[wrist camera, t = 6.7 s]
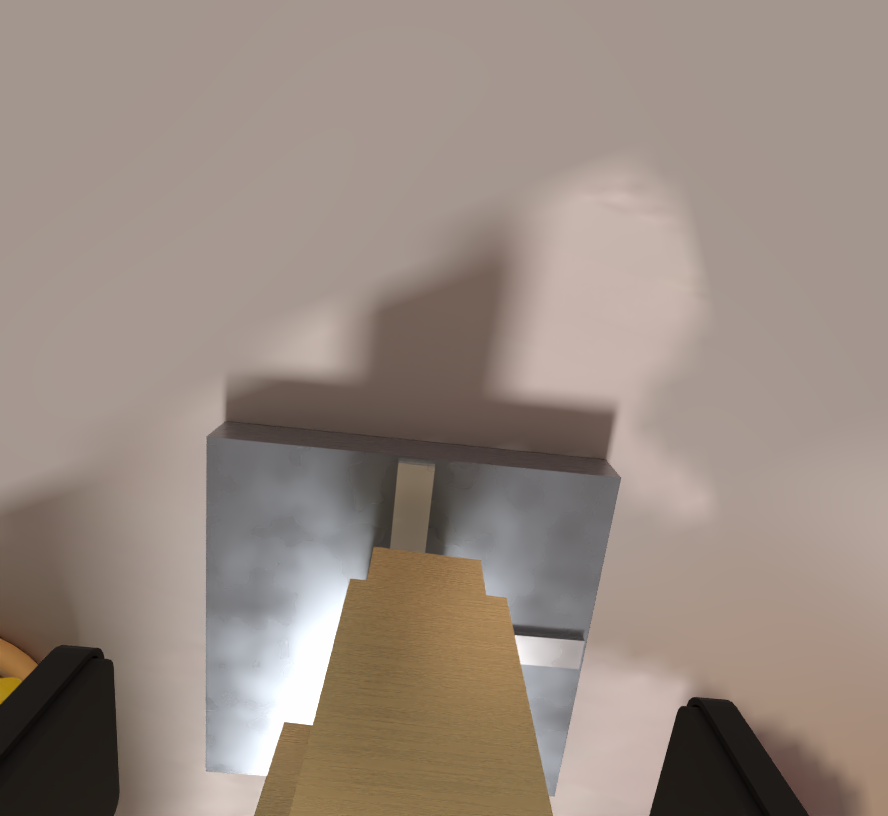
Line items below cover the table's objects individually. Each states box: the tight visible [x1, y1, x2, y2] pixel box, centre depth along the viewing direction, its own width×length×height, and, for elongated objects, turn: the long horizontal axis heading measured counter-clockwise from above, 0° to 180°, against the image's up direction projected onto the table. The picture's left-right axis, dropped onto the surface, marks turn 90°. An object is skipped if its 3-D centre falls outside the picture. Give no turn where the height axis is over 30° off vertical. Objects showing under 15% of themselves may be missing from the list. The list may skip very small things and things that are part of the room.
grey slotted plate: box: [206, 421, 621, 796], centre depth 21 cm, size 16×16×9 cm
